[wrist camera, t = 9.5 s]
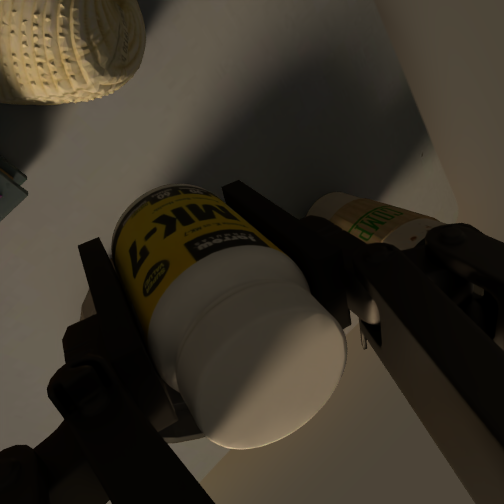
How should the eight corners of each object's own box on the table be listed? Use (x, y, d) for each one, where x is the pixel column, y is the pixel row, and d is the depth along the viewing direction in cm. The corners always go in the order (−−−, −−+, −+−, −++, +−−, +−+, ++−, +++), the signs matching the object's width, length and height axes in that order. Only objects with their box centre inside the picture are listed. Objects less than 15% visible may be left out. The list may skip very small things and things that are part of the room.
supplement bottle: (202, 157, 16) (342, 250, 9) (245, 255, 18) (379, 384, 12) (81, 223, 15) (136, 383, 8) (146, 316, 17) (228, 494, 11)
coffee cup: (370, 159, 40) (520, 213, 28) (371, 248, 45) (498, 325, 33) (280, 190, 37) (405, 265, 25) (291, 282, 42) (400, 380, 30)
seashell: (190, 33, 27) (148, 142, 24) (91, 45, 30) (46, 141, 28) (106, -108, 20) (36, 25, 18) (-11, -70, 23) (-81, 43, 21)
